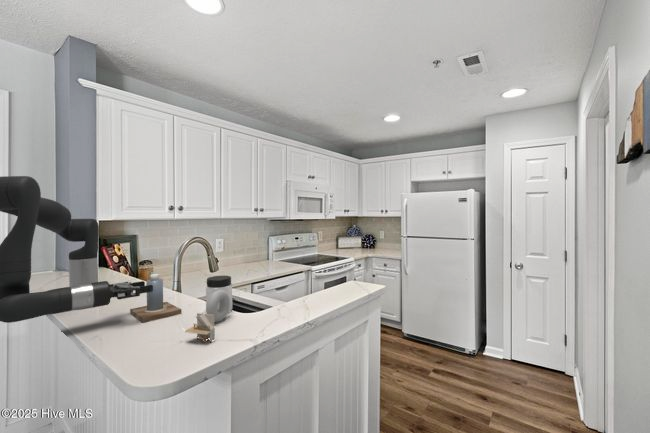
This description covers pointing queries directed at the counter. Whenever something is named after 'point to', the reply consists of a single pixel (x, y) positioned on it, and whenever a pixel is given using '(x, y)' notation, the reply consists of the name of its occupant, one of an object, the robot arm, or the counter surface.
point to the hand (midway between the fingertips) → (148, 286)
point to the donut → (213, 302)
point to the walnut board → (155, 312)
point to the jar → (219, 287)
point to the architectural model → (204, 327)
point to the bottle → (155, 293)
